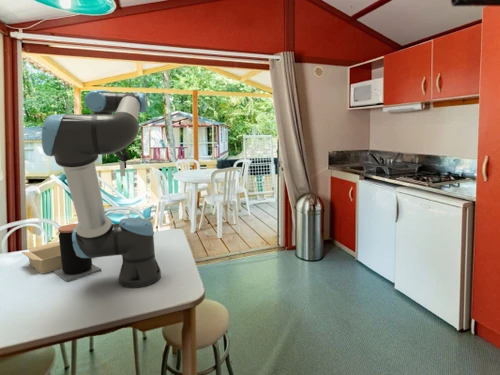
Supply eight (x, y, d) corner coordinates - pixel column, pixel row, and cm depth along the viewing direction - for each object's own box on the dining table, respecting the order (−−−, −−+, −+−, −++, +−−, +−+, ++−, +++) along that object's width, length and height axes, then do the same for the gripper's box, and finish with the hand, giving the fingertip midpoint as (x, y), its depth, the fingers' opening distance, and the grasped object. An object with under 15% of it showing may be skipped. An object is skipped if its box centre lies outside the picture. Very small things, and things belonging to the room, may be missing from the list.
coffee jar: (79, 276, 123) (75, 231, 120) (56, 274, 125) (51, 229, 123) (98, 265, 133) (94, 223, 131) (76, 264, 136) (71, 222, 133)
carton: (99, 259, 144) (98, 245, 143) (36, 277, 125) (35, 261, 124) (80, 249, 157) (79, 236, 156) (21, 264, 138) (19, 250, 138)
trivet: (101, 271, 130) (101, 268, 130) (66, 282, 120) (66, 279, 120) (87, 263, 139) (87, 261, 138) (54, 273, 129) (54, 270, 129)
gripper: (127, 128, 148) (130, 174, 152) (69, 127, 130) (74, 179, 133) (135, 128, 144) (138, 175, 147) (77, 127, 125) (82, 181, 128)
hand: (108, 177), depth 140 cm, fingers open, 13 cm apart
